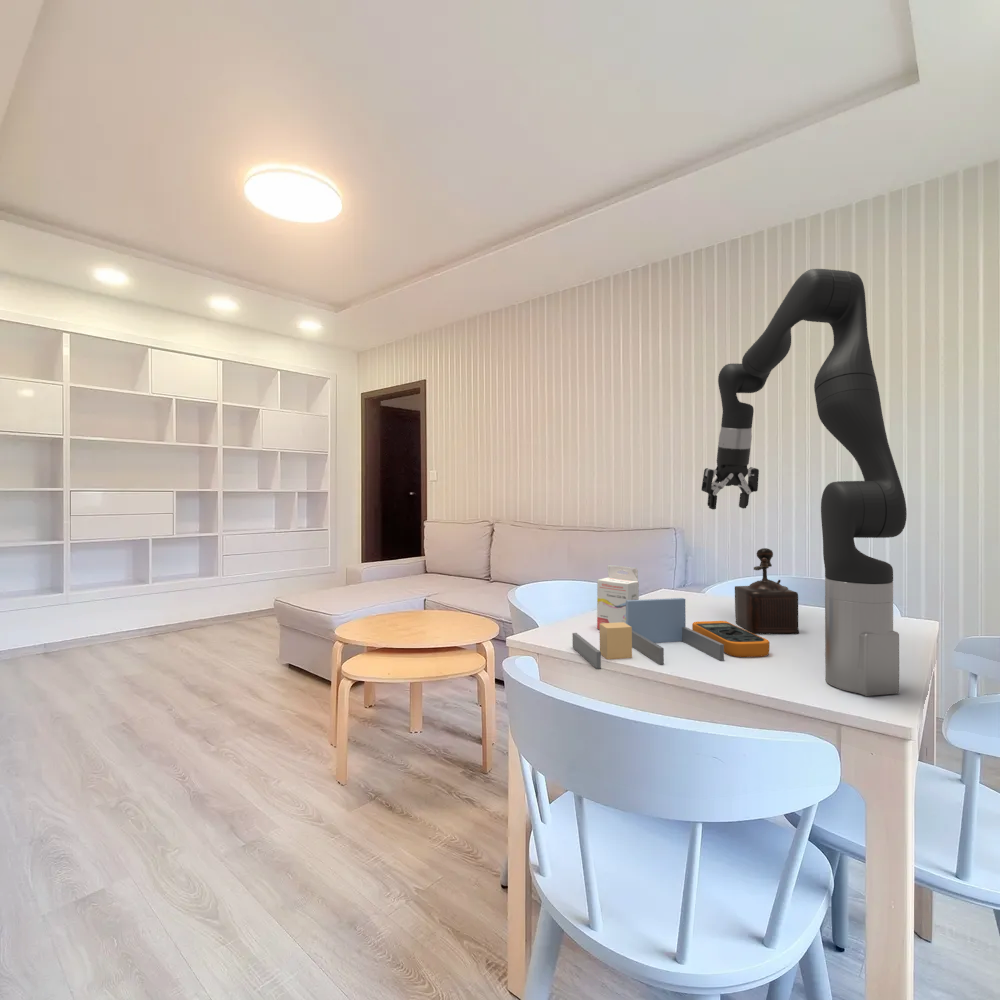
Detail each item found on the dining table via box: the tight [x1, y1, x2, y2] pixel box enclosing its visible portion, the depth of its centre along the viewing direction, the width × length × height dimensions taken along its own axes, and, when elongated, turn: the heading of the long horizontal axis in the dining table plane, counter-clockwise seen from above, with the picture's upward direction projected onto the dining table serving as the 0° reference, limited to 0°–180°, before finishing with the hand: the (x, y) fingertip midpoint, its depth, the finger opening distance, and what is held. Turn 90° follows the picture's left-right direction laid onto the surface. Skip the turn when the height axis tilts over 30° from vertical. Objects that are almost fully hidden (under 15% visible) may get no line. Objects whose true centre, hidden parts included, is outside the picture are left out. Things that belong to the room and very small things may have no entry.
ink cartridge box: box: [596, 564, 640, 630], centre depth 125 cm, size 9×5×15 cm, turn 47°
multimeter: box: [691, 620, 770, 658], centre depth 112 cm, size 9×18×3 cm, turn 5°
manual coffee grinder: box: [734, 547, 800, 635], centre depth 128 cm, size 16×11×18 cm
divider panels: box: [572, 597, 725, 670], centre depth 107 cm, size 15×25×9 cm, turn 100°
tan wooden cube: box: [599, 622, 633, 660], centre depth 105 cm, size 4×5×6 cm
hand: (727, 508), depth 139 cm, fingers open, 8 cm apart
